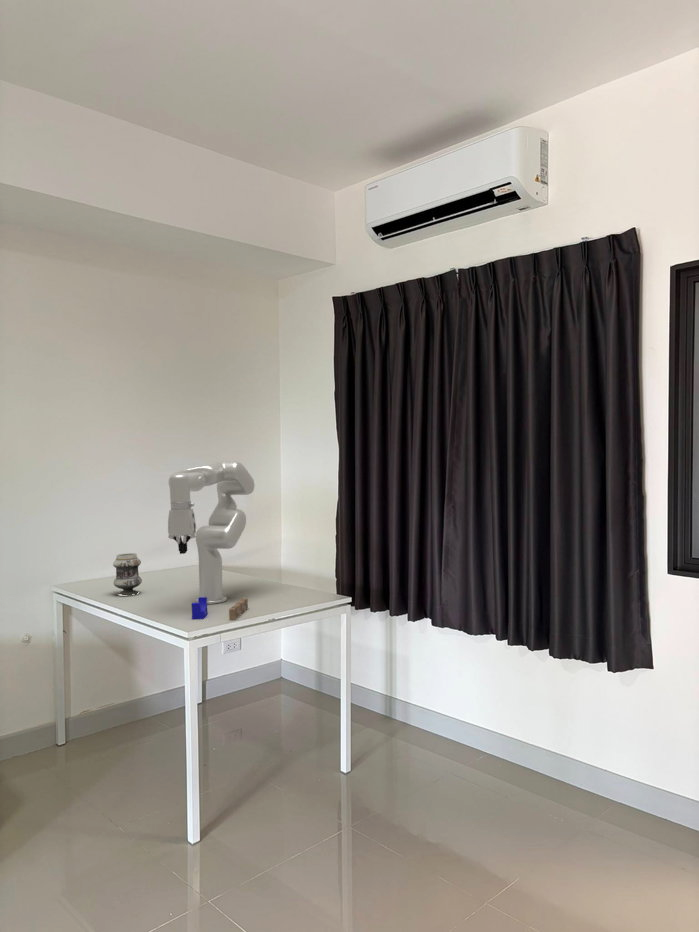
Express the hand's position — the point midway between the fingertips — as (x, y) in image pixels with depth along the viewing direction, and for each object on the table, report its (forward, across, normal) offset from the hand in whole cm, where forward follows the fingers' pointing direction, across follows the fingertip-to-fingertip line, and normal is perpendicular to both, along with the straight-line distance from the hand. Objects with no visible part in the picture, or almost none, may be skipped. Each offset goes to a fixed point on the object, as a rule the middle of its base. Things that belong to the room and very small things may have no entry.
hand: (183, 553), depth 271 cm
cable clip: (+23, -8, +7) cm, 26 cm away
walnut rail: (+23, -22, +5) cm, 32 cm away
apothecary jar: (+24, +38, -36) cm, 58 cm away
